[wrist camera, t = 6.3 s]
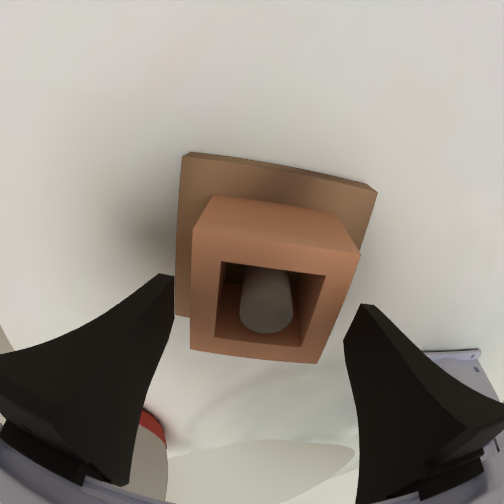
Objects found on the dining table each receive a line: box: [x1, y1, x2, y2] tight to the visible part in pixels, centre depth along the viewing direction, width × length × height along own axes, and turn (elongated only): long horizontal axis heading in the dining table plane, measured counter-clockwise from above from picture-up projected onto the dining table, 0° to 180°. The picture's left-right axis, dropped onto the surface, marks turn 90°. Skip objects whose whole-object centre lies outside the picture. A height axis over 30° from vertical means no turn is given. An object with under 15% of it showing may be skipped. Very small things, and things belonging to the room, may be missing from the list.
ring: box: [190, 194, 361, 364], centre depth 12 cm, size 6×6×4 cm
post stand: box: [175, 152, 378, 334], centre depth 13 cm, size 9×9×6 cm
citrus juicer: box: [104, 410, 168, 501], centre depth 18 cm, size 16×17×20 cm
